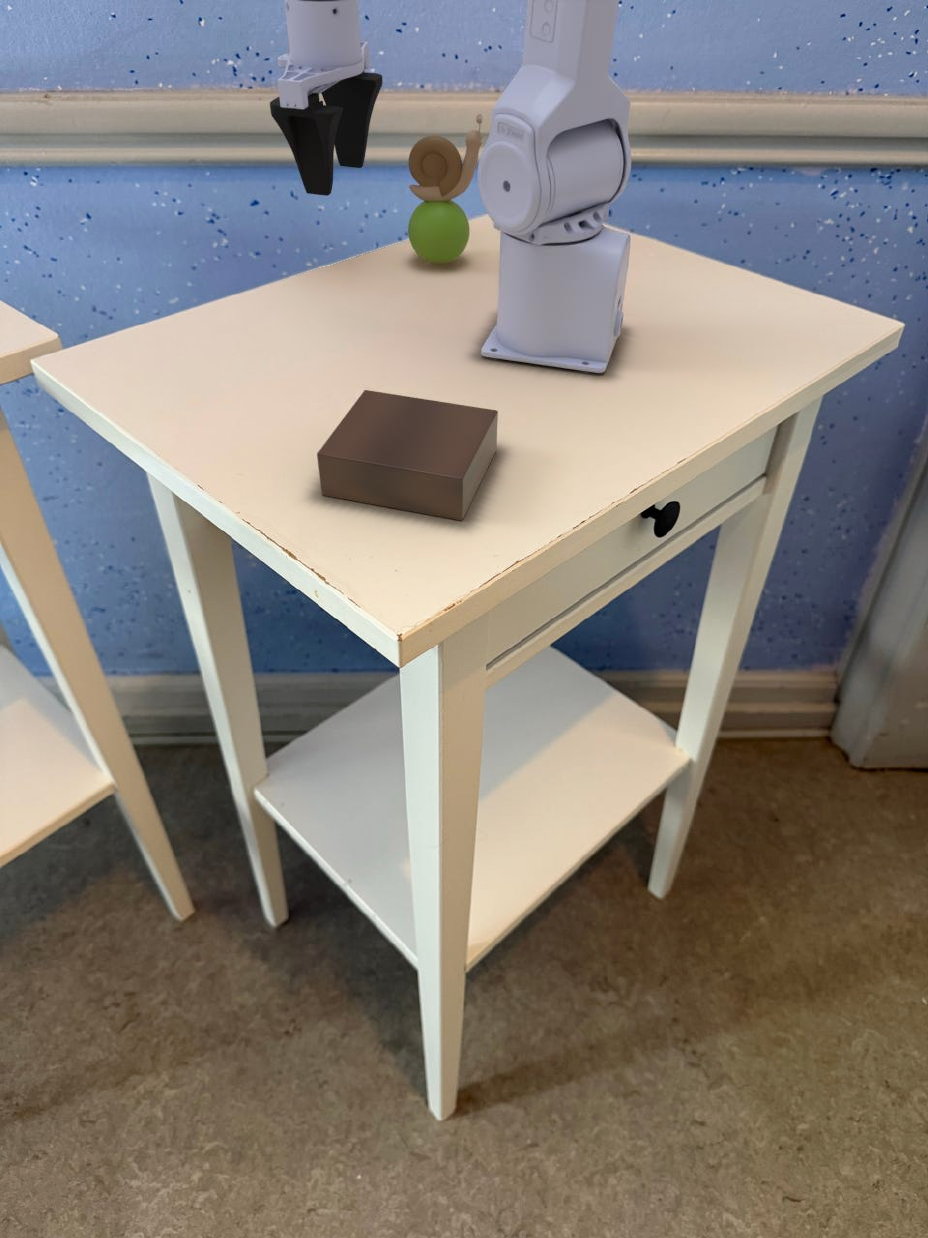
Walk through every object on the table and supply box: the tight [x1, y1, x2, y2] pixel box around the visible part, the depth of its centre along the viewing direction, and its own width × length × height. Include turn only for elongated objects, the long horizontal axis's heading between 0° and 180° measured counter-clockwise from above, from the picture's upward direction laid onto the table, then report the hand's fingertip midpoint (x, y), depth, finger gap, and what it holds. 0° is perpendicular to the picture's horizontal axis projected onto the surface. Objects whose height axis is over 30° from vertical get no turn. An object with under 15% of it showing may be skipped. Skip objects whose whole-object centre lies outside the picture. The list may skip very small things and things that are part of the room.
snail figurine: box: [407, 113, 483, 265], centre depth 78 cm, size 5×6×12 cm
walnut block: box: [316, 389, 499, 521], centre depth 56 cm, size 9×8×3 cm
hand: (335, 179), depth 80 cm, fingers open, 7 cm apart
